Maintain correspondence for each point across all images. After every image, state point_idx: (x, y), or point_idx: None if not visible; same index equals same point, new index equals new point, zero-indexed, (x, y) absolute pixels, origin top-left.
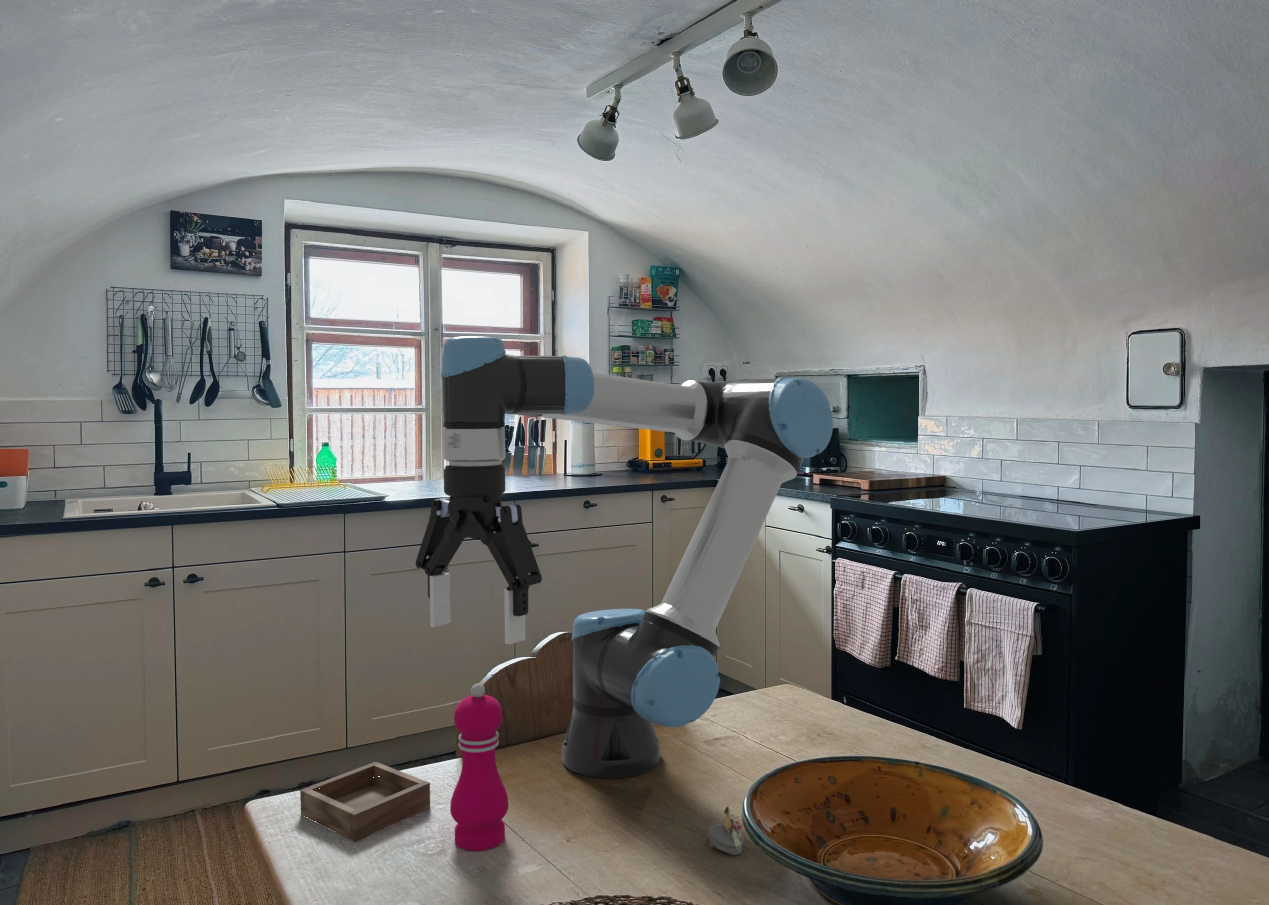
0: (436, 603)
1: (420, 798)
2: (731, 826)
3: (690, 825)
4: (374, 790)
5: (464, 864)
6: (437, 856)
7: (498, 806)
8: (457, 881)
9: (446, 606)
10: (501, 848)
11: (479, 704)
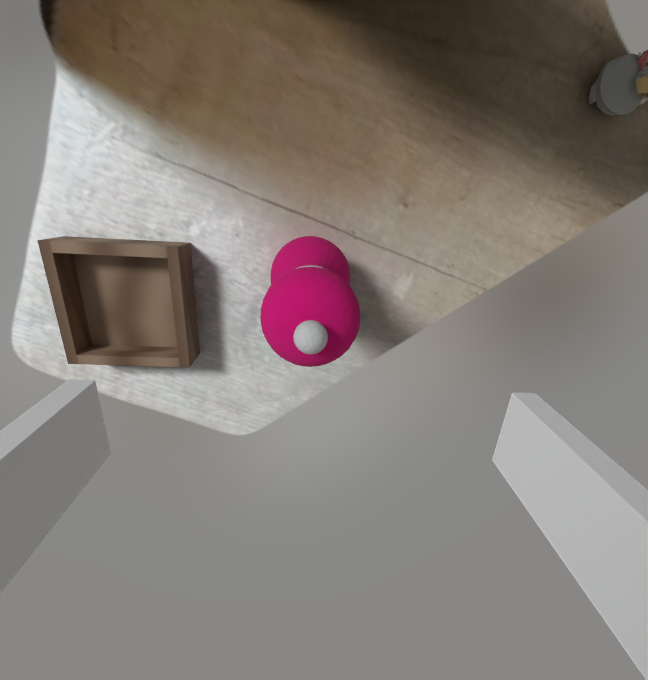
0: (41, 522)
1: (185, 263)
2: (641, 70)
3: (542, 52)
4: (93, 262)
5: None
6: None
7: (349, 282)
8: (355, 345)
9: (46, 449)
10: None
11: (336, 350)
